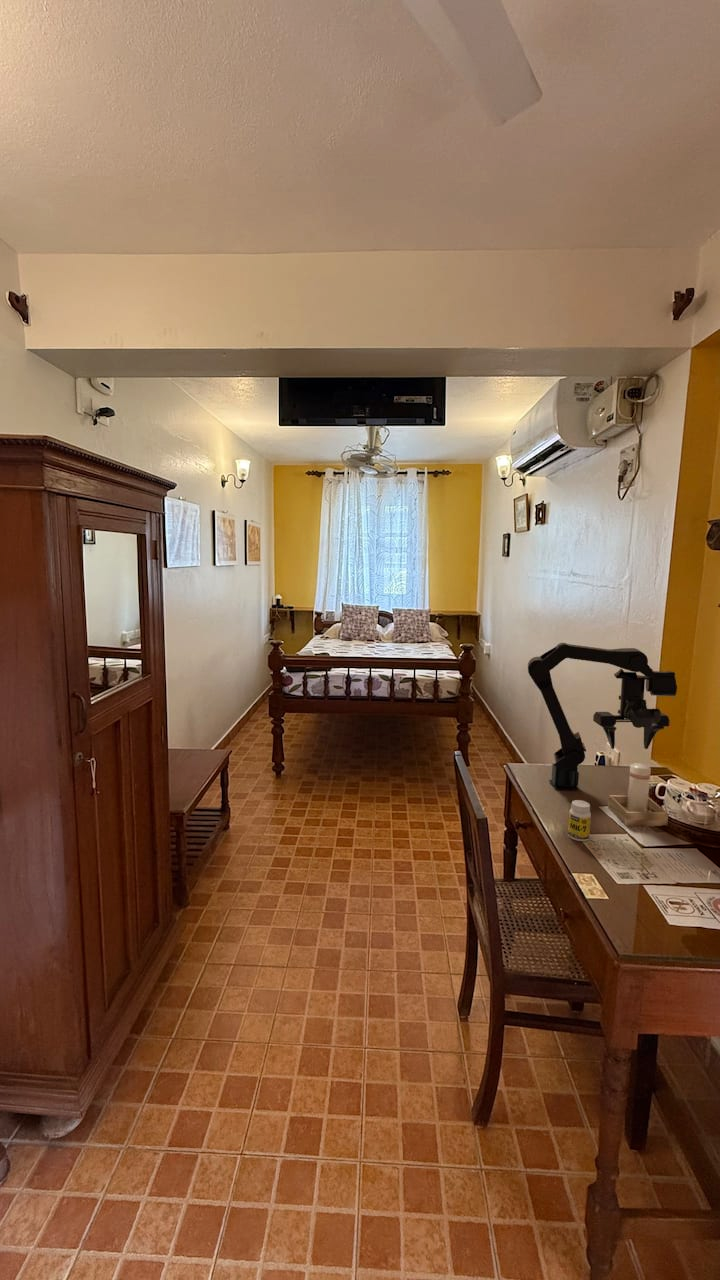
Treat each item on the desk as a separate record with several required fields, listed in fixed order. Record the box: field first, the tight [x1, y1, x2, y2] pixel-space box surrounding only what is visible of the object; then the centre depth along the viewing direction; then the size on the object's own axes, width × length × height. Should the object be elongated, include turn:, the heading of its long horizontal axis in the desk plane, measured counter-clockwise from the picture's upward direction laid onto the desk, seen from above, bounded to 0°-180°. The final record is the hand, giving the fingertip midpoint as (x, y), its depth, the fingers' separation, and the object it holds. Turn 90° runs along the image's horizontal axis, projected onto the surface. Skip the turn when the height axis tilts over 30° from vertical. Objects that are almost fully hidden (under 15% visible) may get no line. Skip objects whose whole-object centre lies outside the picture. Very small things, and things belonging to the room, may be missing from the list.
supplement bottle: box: [567, 799, 592, 842], centre depth 130 cm, size 5×5×8 cm
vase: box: [627, 762, 652, 812], centre depth 140 cm, size 5×5×13 cm
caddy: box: [607, 794, 669, 828], centre depth 141 cm, size 10×10×4 cm
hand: (629, 748), depth 153 cm, fingers open, 9 cm apart
